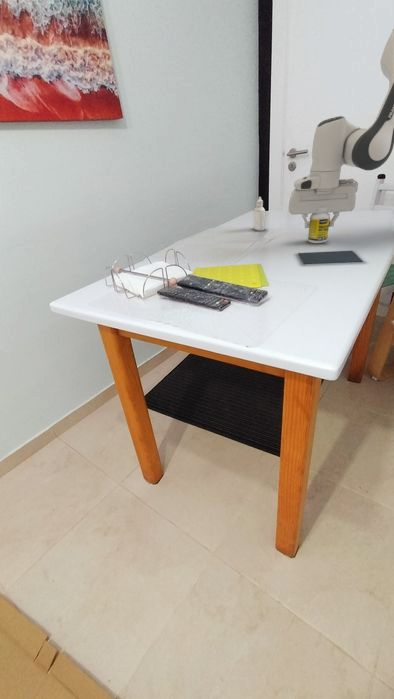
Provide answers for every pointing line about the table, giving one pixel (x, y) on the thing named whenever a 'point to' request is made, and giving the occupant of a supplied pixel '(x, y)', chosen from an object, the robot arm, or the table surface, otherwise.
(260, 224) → the eye dropper bottle
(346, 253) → the mat
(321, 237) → the pill bottle
